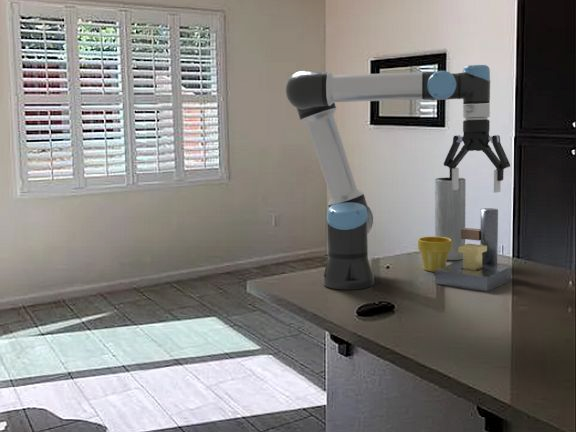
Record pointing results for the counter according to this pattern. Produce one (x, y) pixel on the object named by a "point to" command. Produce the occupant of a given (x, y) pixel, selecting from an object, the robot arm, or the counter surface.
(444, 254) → the plant pot
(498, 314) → the counter surface
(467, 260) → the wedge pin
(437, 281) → the gray post stand
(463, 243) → the vase
